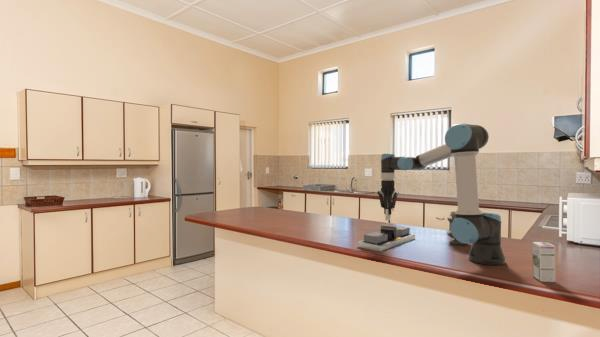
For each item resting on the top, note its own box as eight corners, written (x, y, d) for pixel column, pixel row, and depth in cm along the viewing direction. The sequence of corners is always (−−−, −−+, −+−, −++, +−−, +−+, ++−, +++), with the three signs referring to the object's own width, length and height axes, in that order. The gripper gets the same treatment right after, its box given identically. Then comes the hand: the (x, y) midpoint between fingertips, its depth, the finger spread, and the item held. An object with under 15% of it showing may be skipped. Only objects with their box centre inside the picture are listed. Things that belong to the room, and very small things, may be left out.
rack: (415, 238, 202) (415, 227, 202) (380, 251, 174) (380, 238, 174) (394, 235, 212) (394, 224, 212) (358, 246, 184) (358, 234, 184)
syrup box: (556, 282, 128) (556, 245, 128) (539, 281, 129) (539, 244, 129) (547, 277, 134) (548, 242, 134) (531, 276, 135) (532, 241, 135)
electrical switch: (398, 241, 192) (397, 225, 192) (395, 243, 188) (394, 227, 187) (382, 239, 198) (381, 223, 197) (379, 241, 193) (378, 226, 192)
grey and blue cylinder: (469, 241, 194) (469, 211, 194) (470, 246, 183) (470, 214, 183) (447, 240, 199) (447, 210, 199) (446, 244, 188) (446, 213, 188)
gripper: (401, 180, 191) (401, 220, 191) (381, 179, 200) (381, 218, 200) (394, 180, 185) (394, 222, 186) (374, 179, 195) (374, 219, 195)
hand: (387, 220), depth 193 cm, fingers closed
